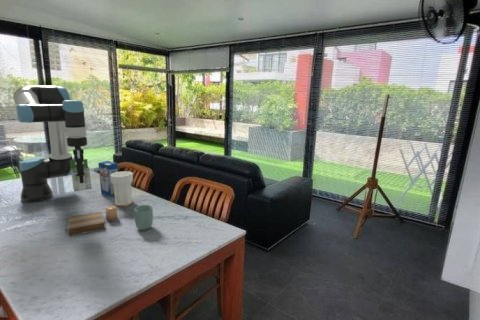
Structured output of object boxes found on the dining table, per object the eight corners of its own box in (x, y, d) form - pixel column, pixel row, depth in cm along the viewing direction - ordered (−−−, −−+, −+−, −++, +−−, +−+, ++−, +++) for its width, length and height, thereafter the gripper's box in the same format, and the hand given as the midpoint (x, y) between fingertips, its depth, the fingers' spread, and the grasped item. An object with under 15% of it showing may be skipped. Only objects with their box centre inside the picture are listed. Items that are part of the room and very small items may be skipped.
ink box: (74, 191, 119) (70, 162, 116) (73, 189, 122) (69, 160, 119) (91, 189, 123) (88, 160, 120) (90, 186, 126) (87, 158, 123)
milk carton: (120, 194, 167) (117, 163, 162) (110, 197, 162) (107, 165, 157) (110, 191, 172) (107, 160, 167) (101, 194, 167) (98, 162, 162)
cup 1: (108, 205, 150) (105, 175, 146) (123, 198, 160) (121, 170, 157) (124, 208, 146) (121, 177, 142) (138, 201, 156) (137, 172, 152)
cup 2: (156, 226, 128) (155, 206, 125) (146, 233, 120) (144, 212, 118) (143, 223, 130) (141, 203, 128) (131, 230, 123) (130, 210, 121)
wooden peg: (106, 218, 134) (105, 207, 133) (117, 216, 137) (116, 205, 135) (107, 222, 130) (105, 210, 129) (118, 220, 133) (117, 208, 131)
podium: (69, 222, 129) (68, 217, 128) (102, 216, 136) (101, 211, 135) (68, 235, 117) (68, 229, 116) (104, 228, 124) (104, 222, 123)
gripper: (67, 134, 122) (73, 183, 127) (65, 140, 108) (72, 195, 113) (86, 133, 126) (91, 181, 131) (87, 139, 111) (92, 192, 117)
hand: (82, 187), depth 122 cm, fingers closed on ink box, 4 cm apart
